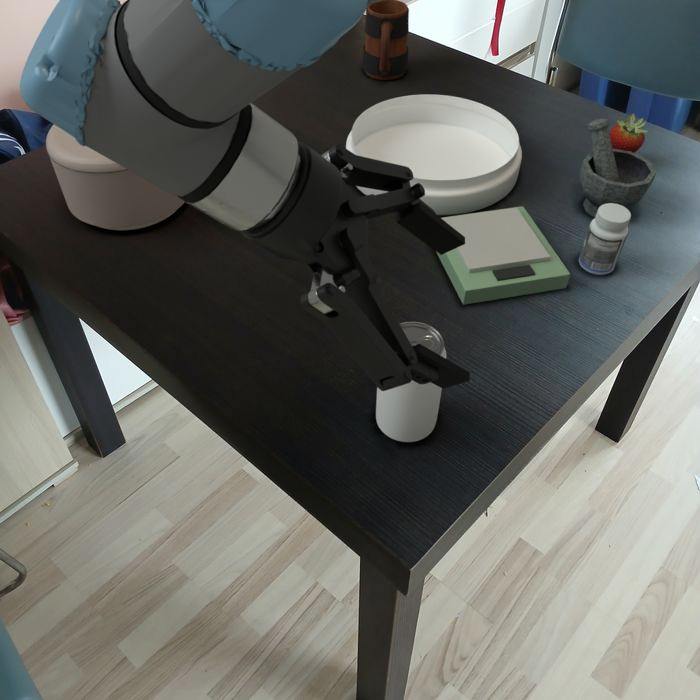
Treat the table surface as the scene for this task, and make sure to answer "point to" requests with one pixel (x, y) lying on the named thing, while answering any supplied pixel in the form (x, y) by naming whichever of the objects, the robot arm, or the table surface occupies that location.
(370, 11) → the mug
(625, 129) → the fruit
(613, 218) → the pill bottle
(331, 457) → the table surface
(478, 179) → the white round shallow dish
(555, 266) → the kitchen scale
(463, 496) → the table surface
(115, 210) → the container
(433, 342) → the can
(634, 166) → the mortar and pestle
